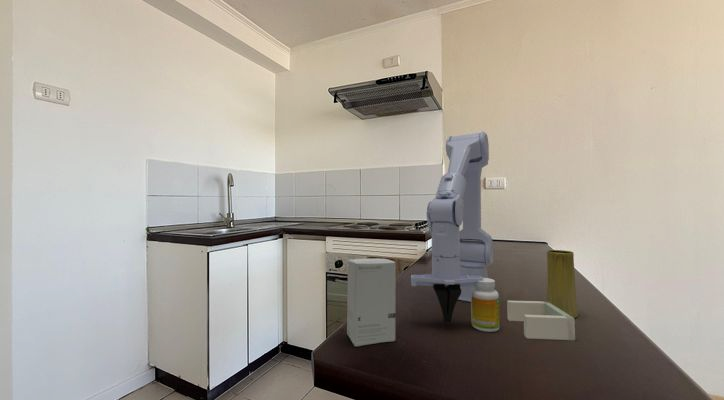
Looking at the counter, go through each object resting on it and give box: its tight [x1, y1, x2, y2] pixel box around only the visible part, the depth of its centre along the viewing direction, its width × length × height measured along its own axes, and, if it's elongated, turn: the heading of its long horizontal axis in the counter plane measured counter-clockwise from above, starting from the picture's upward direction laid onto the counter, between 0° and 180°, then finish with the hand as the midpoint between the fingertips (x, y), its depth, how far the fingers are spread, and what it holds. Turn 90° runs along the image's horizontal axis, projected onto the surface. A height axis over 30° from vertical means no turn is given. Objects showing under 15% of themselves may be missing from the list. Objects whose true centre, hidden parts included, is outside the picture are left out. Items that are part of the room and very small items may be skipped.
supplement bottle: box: [470, 277, 501, 333], centre depth 62 cm, size 5×5×10 cm
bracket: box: [506, 300, 576, 341], centre depth 60 cm, size 8×10×4 cm
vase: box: [546, 249, 579, 319], centre depth 69 cm, size 6×6×14 cm
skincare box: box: [346, 257, 397, 348], centre depth 57 cm, size 8×6×15 cm
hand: (446, 320), depth 62 cm, fingers closed
